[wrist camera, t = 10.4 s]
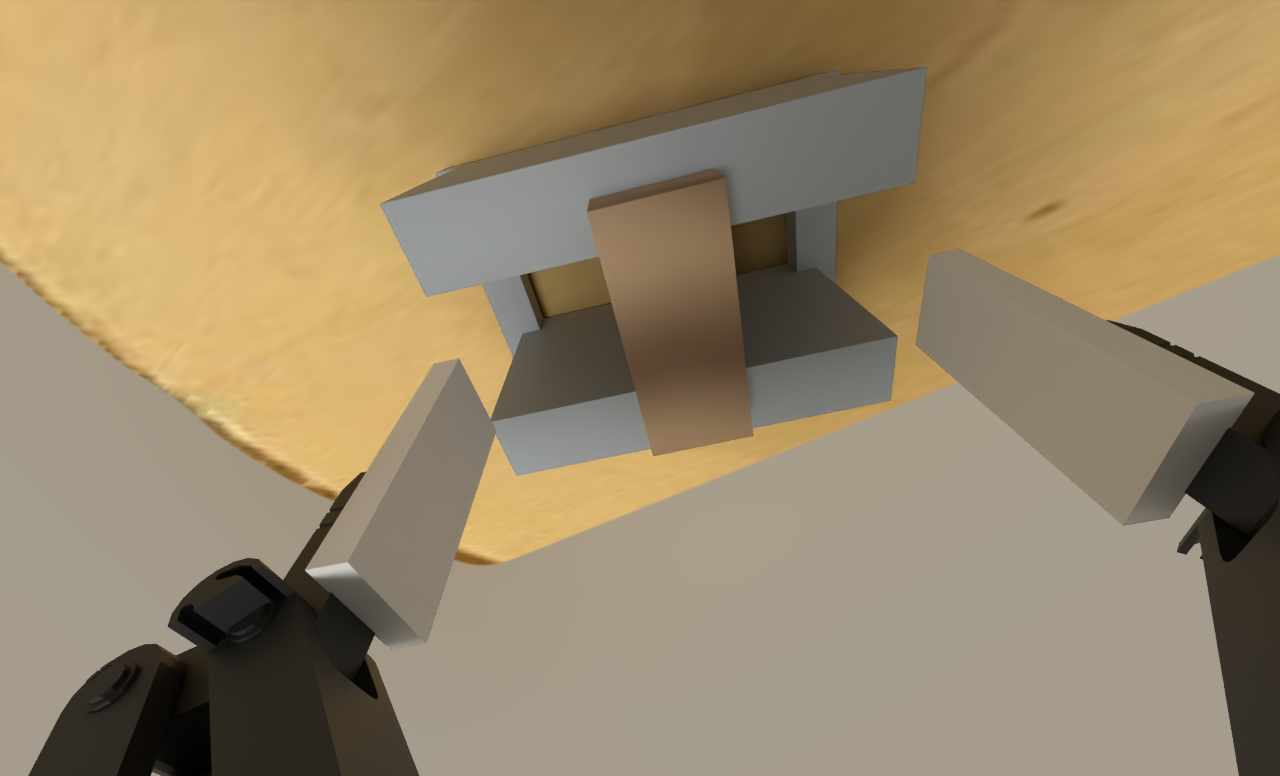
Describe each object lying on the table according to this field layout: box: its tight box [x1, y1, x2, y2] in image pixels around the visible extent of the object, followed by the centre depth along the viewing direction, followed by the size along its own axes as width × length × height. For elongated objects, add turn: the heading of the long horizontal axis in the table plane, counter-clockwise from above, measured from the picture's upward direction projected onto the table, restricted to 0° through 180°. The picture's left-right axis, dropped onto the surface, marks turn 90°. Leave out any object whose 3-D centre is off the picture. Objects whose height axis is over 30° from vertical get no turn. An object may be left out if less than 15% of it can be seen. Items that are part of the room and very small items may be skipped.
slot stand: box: [380, 67, 927, 476], centre depth 20 cm, size 11×18×10 cm, turn 102°
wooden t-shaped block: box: [587, 169, 753, 456], centre depth 19 cm, size 9×4×10 cm, turn 13°
